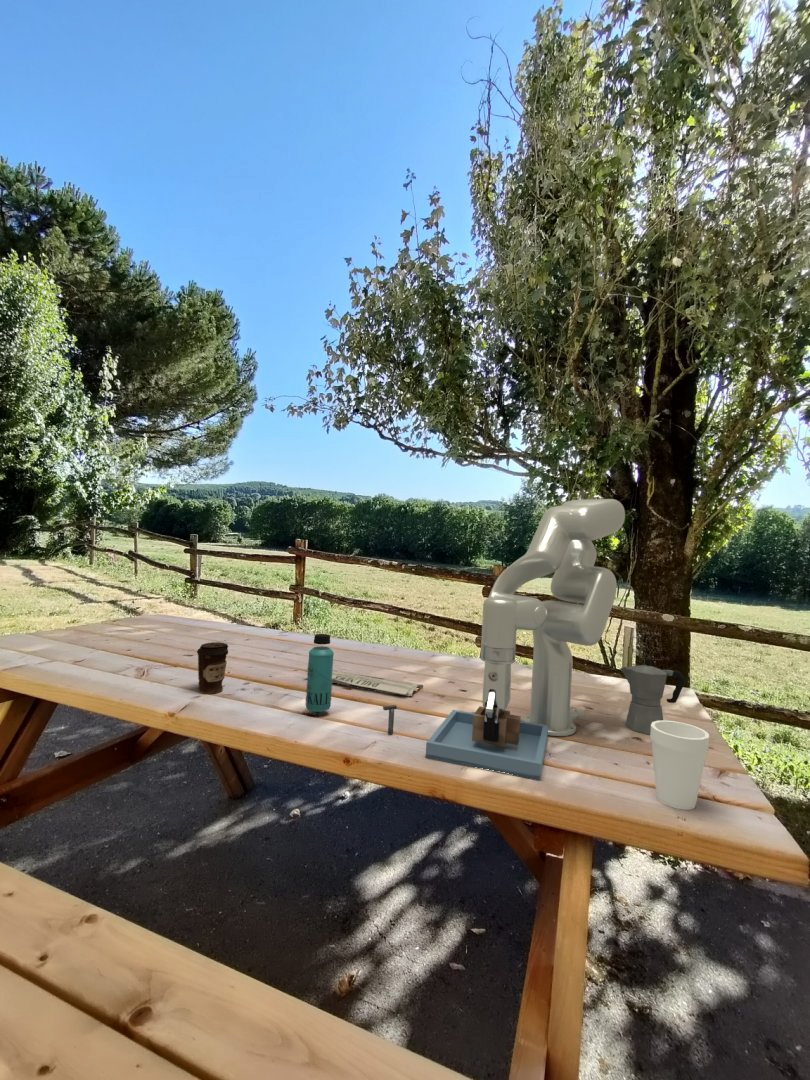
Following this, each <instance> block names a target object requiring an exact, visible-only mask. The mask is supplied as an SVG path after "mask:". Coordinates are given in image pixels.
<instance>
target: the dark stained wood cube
mask: <svg viewBox="0 0 810 1080" xmlns="http://www.w3.org/2000/svg"><path fill="white" fill-rule="evenodd" d="M485 712H486V708H485V707H484V706H483V705H482V706H480V705H479V706H478V708H477V709H476V711H475V712H474V713H475V714H474V715H473V730H472V741H476V742H481V743H487V744H492V745H497V746H502V747H504V746H505V744H506V743H508V744H513V745H518V743H519V732H520V721H521V716H520V715H516V714H511V710H506V709H505V710H504V711H502V710H500V709H499V717H498V723H499V738H498V742H493V741H488V740H484V739H483V732H484V721H485ZM493 713H495V714H496V711H493Z"/></svg>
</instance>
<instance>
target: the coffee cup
mask: <svg viewBox="0 0 810 1080" xmlns="http://www.w3.org/2000/svg"><path fill="white" fill-rule="evenodd" d="M228 648H229V645H228V644H227V643H224V642H219V641H218V642H214V641H213V642H206V643H203V644H201V645H200V647H199V648H198V649H197V651H196V653H197V673H198V676H197V677H198V692H199V693H200V694H216V693H217V694H218V693H220V692H222V691H223V690H224V688H223V687H224V685H223V681H224V679H225V673H226V668H227V655H229V650H228Z"/></svg>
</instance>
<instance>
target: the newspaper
mask: <svg viewBox="0 0 810 1080" xmlns="http://www.w3.org/2000/svg"><path fill="white" fill-rule="evenodd" d="M305 672H306V673H308V670H305ZM332 682H333V683H337V684H336V685H339V684H342V685H341V686H345V685H347V686H346V687H351V686H352V688H357V687H358V688H357V689H362V688H364V689H363V690H368V689H370V690H369V691H374V690H376V692H380V691H382V692H381V693H386V692H387V693H386V694H392V693H393V695H397V694H401V695H400V696H403V695H406V696H405V697H409V696H412V697H413V693H414V689H415V688H419V689H420V690H422V688H423V689H424V684H421V683H413V682H408V681H401V680H395V679H389V678H388V679H387V678H383V677H376V676H370V675H363V674H357V673H352V672H346V671H342V670H341V671H339V670H336V669H335V670H334V669H332ZM333 683H332V684H333Z"/></svg>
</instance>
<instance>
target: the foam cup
mask: <svg viewBox="0 0 810 1080" xmlns="http://www.w3.org/2000/svg"><path fill="white" fill-rule="evenodd" d="M649 736H650V737H649V738H650V740H651V746H652V747H651V749H652V751H651V752H652V761H653V770H654V771H653V772H654V783H655V784H654V785H655V794H656V798H657V800H658V801H659V802H660V803H662V804H664V805H665V806H668V807H672V808H674V809H678V810H683V811H691V810H694V809H695V808H696V805H697V801H698V797H699V796H698V795H699V791H700V787H701V782H702V775H703V771H704V767H705V761H706V757H707V752H709V743H710V742H709V739H710V734H709V733H708V732H707V731H706V730H704V729H703V728H701V727H697V726H695V725H693V724H689V723H685V722H681V721H673V720H663V721H655V722H652V724H651V732H650V735H649Z"/></svg>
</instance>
